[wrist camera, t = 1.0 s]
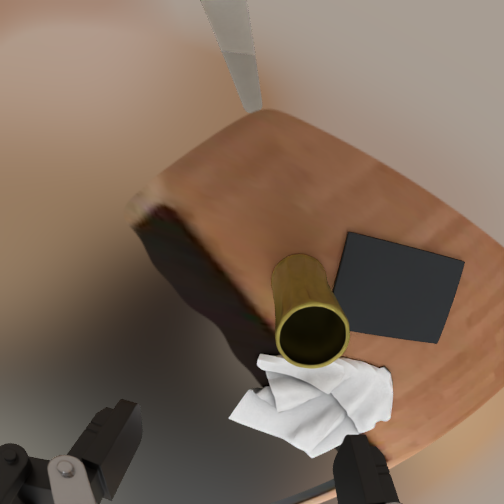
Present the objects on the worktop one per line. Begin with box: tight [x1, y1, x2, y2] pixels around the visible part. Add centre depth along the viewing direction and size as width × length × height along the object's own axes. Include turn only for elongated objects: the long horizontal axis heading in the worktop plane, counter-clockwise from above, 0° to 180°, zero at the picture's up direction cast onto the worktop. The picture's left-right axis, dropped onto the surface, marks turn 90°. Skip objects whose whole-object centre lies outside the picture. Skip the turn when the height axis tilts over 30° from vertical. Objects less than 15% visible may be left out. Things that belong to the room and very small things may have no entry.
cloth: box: [229, 354, 393, 458], centre depth 37 cm, size 20×22×2 cm
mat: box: [333, 232, 465, 344], centre depth 34 cm, size 11×16×1 cm
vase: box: [271, 254, 350, 369], centre depth 28 cm, size 6×6×14 cm
